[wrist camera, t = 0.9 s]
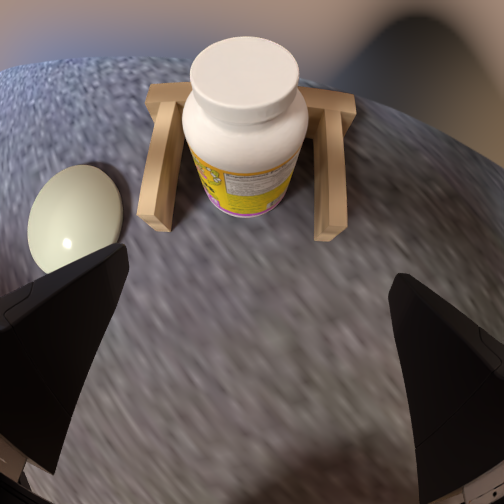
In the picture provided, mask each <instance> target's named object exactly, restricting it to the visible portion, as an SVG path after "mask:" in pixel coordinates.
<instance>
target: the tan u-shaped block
mask: <svg viewBox="0 0 504 504" xmlns="http://www.w3.org/2000/svg"><path fill="white" fill-rule="evenodd" d="M297 88H298V90H299V91H300V92H301V94H302V95H303V98H304V100H305V102H306V105H307V109H308V127H307V132H306V135H305V138H311V139H313V145H314V241H328V242H329V241H331V240H332V239H333V238H334V237H336V236H337V235H338V234H339V233H341V232H342V231H343V230H344V229H345V228H347V196H346V175H345V159H344V146H343V138H344V136H345V134H346V132H347V130H348V129H349V127H350V125H351V123H352V121H353V119H354V118H355V116H356V107H355V100H354V95H353V94H348V93H342V92H336V91H330V90H323V89H316V88H308V87H300V86H297ZM192 90H193V89H192V85H191V82H179V83H162V84H151V85H150V88H149V91H148V94H147V98H146V101H145V104H146V107H147V109H148V111H149V113H150V115H151V117H152V119H153V121H154V123H155V126H154V130H153V134H152V138H151V143H150V147H149V152H148V156H147V161H146V166H145V171H144V176H143V181H142V186H141V192H140V198H139V204H138V210H137V215H138V216H139V217H140V218H141V219H142V220H144V221H145V222H146V223H147V224H148V225H149V226H151V227H152V228H153V229H154V230H155V231H163V232H171V226H172V218H173V210H174V203H175V196H176V189H177V182H178V175H179V169H180V163H181V157H182V151H183V145H184V140H185V134H184V130H183V124H182V114H183V109H184V106H185V102H186V100H187V98H188V96H189V95H190V93H191V91H192Z"/></svg>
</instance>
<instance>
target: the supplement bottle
mask: <svg viewBox="0 0 504 504" xmlns="http://www.w3.org/2000/svg"><path fill="white" fill-rule="evenodd" d="M190 80H191V85H192V89H193V90H192V91H191V93H190V95H189V96H188V98H187V100H186V102H185V106H184V109H183V114H182V124H183V130H184V134H185V137H186V140H187V143H188V145H189V148H190V151H191V153H192V156H193V159H194V162H195V165H196V167H197V170H198V173H199V176H200V179H201V181H202V184H203V187H204V189H205V192H206V194H207V196H208V197H209V199H210V200H211V202H212V203H213V204H214V205H215V206H216V207H217V208H218V209H220V210H221V211H223V212H225V213H227V214H229V215H232V216H235V217H241V218H250V217H256V216H259V215H263V214H265V213H267V212H269V211H270V210H272V209H273V208H274V207H276V206H277V205H278V204H279V202H280V201H281V200H282V198H283V197H284V195H285V193H286V191H287V188H288V185H289V182H290V179H291V176H292V173H293V170H294V167H295V164H296V161H297V158H298V155H299V152H300V149H301V146H302V144H303V141H304V138H305V135H306V132H307V127H308V109H307V105H306V102H305V100H304V98H303V95H302V94H301V92H300V91H299V90H298V88H297V86H298V81H299V68H298V64H297V62H296V60H295V58H294V57H293V56H292V54H291V53H290V52H289V51H288V50H286V49H285V48H284V47H282V46H280V45H279V44H277V43H275V42H272V41H270V40H267V39H263V38H258V37H234V38H229V39H225V40H222V41H219V42H217V43H214V44H212V45H210V46H209V47H207V48H206V49H204V50H203V51H202V52H201V53H200V54H199V55H198V56H197V57H196V59H195V60H194V62H193V64H192V67H191V70H190Z"/></svg>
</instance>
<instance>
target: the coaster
mask: <svg viewBox="0 0 504 504" xmlns="http://www.w3.org/2000/svg"><path fill="white" fill-rule="evenodd" d="M122 222H123V205H122V199H121V196H120V193H119V190H118V188H117V186H116V185H115V183H114V182H113V181H112V180H111V179H110V178H109V177H108V176H107V175H106V174H105V173H104V172H103V171H101V170H100V169H98V168H96V167H93V166H89V165H76V166H72V167H69V168H66V169H64V170H62V171H61V172H59V173H57V174H56V175H55V176H54V177H52V178H51V179H50V180H49V181H48V182H47V183H46V184H45V186H44V187H43V188H42V190H41V191H40V192H39V194H38V196H37V198H36V199H35V202H34V204H33V206H32V209H31V212H30V216H29V221H28V243H29V248H30V251H31V254H32V256H33V258H34V260H35V262H36V263H37V265H38V266H39V267H40V268H41V269H42V270H43V271H44V272H46V273H47V274H49V273H51V272H53V271H55V270H57V269H59V268H61V267H63V266H65V265H67V264H69V263H71V262H73V261H75V260H78V259H80V258H82V257H84V256H86V255H88V254H90V253H93V252H95V251H97V250H99V249H101V248H104V247H106V246H108V245H110V244H113V243H117V241H118V238H119V235H120V232H121V228H122Z"/></svg>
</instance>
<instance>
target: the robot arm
mask: <svg viewBox="0 0 504 504" xmlns="http://www.w3.org/2000/svg"><path fill="white" fill-rule="evenodd" d="M128 272H129V261H128V254H127V248H126V246H125V245H124V244H120V243H113V244H110V245H108V246H106V247H104V248H101V249H99V250H97V251H95V252H93V253H90V254H88V255H86V256H84V257H82V258H80V259H78V260H75V261H73V262H71V263H69V264H67V265H65V266H63V267H61V268H59V269H57V270H55V271H53V272H51V273H49V274H47V275H45V276H43V277H41V278H39V279H37V280H35V281H34V282H31V283H29V284H27V285H25V286H23V287H21V288H19V289H17V290H15V291H13V292H11V293H9V294H6V295H4V296H2V297H0V504H54V503H52V502H50V501H48V500H46V499H44V498H42V497H40V496H39V495H37V494H35V493H33V492H32V490H31V488H30V485H29V483H28V481H27V478H26V475H25V473H24V472H23V469H24V467H25V464H26V461H27V462H29V463H31V464H32V465H34V466H36V467H38V468H40V469H42V470H44V471H46V472H47V473H49V474H51V475H54V473H55V470H56V467H57V463H58V460H59V456H60V453H61V450H62V446H63V443H64V440H65V437H66V434H67V430H68V427H69V424H70V421H71V417H72V415H73V412H74V409H75V406H76V404H77V401H78V398H79V395H80V393H81V390H82V387H83V385H84V382H85V379H86V377H87V374H88V372H89V369H90V367H91V364H92V362H93V359H94V357H95V355H96V352H97V350H98V347H99V345H100V343H101V340H102V338H103V336H104V334H105V331H106V329H107V327H108V325H109V322H110V320H111V318H112V316H113V314H114V311H115V309H116V306H117V304H118V301H119V298H120V295H121V292H122V289H123V286H124V283H125V281H126V278H127V275H128ZM388 300H389V306H390V313H391V319H392V326H393V333H394V338H395V343H396V347H397V351H398V355H399V360H400V364H401V369H402V373H403V378H404V383H405V388H406V393H407V399H408V404H409V410H410V416H411V423H412V429H413V436H414V444H415V448H416V449H415V453H416V462H417V473H418V485H419V501H420V504H433V503H436V502H439V501H442V500H444V499H447V498H450V497H453V496H455V495H458V494H461V493H463V497H464V502H463V503H461V504H504V345H503V344H502V343H500V342H499V341H498V340H496V339H495V338H494V337H492V336H491V335H490V334H489V333H487V332H486V331H485V330H483V329H482V328H481V327H478V325H477V324H476V323H475V322H473V321H472V320H471V319H469V318H468V317H467V316H466V315H464V314H463V313H462V312H460V311H459V310H458V309H456V308H455V307H454V306H452V305H451V304H450V303H448V302H447V301H446V300H444V299H443V298H442V297H440V296H439V295H438V294H436V293H435V292H433V291H432V290H431V289H429V288H428V287H427V286H425V285H424V284H422V283H421V282H420V281H418V280H417V279H415V278H414V277H412V276H411V275H410V274H406V273H398V274H397V275H396V276H395V279H394V281H393V284H392V286H391V289H390V291H389V295H388Z"/></svg>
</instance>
